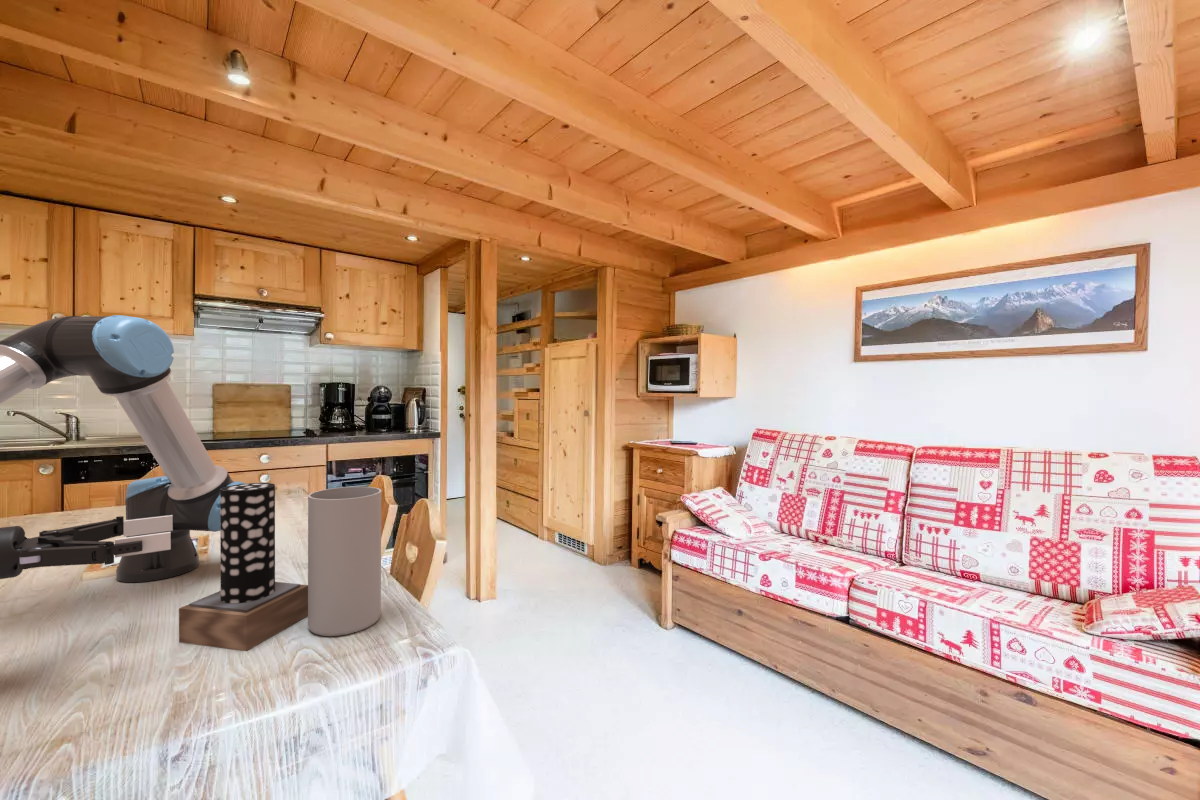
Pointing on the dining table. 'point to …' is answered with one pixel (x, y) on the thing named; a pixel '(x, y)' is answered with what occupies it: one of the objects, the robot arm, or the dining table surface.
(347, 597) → the cylinder vase
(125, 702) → the dining table surface
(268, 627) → the display pedestal
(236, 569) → the spotted tube
